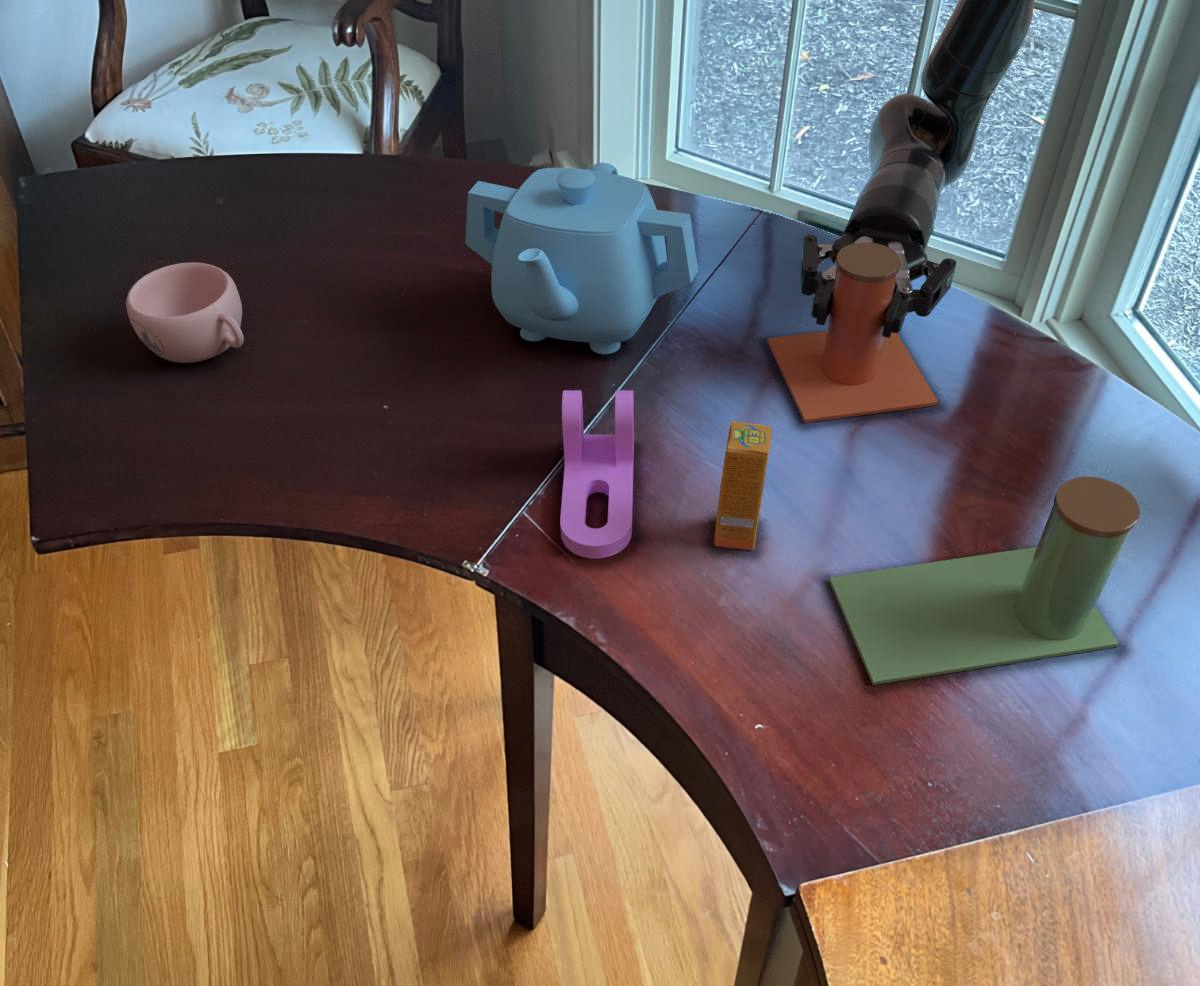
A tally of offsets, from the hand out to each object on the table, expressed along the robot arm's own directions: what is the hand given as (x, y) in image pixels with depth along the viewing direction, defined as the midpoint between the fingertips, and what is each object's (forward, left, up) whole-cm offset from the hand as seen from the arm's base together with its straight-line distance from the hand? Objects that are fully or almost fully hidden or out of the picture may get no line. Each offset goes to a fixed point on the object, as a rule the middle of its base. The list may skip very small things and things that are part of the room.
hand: (854, 321), depth 93 cm
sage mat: (-1, +27, -7) cm, 28 cm away
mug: (+57, -18, -7) cm, 60 cm away
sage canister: (-6, +28, -7) cm, 30 cm away
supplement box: (+14, +16, -7) cm, 22 cm away
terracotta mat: (-1, -2, -7) cm, 7 cm away
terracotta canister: (-1, -2, -7) cm, 7 cm away
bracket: (+24, +10, -7) cm, 27 cm away
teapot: (+22, -14, -7) cm, 27 cm away
